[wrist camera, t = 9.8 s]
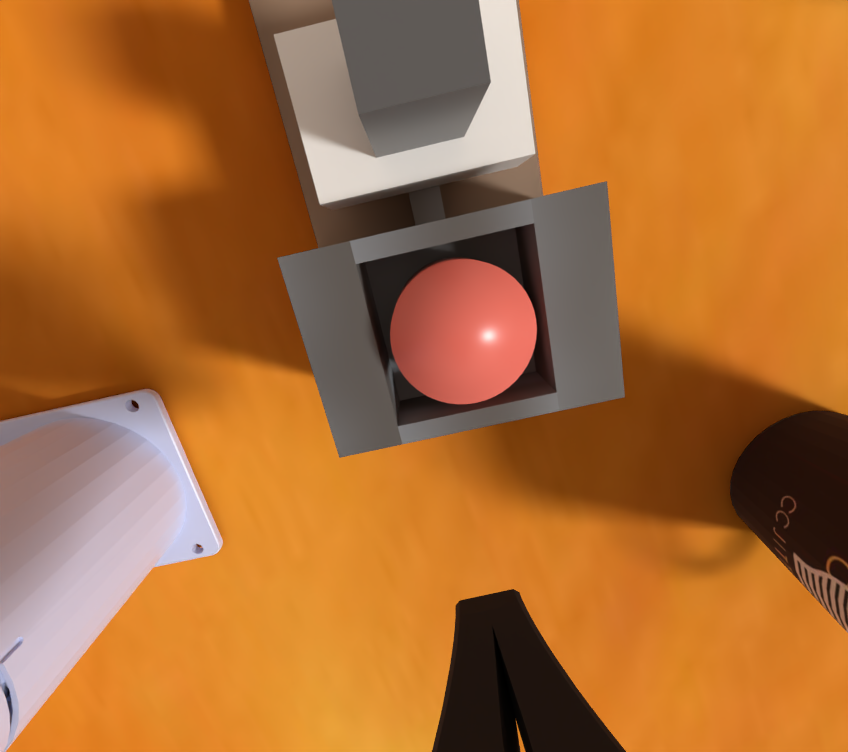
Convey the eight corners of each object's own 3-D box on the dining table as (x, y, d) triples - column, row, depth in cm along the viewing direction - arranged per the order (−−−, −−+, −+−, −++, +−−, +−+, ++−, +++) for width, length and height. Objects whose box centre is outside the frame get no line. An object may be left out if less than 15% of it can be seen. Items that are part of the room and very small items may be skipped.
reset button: (409, 391, 13) (408, 417, 11) (380, 272, 12) (374, 278, 10) (525, 366, 13) (545, 387, 11) (507, 244, 12) (525, 243, 10)
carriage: (332, 210, 14) (275, 185, 8) (294, 66, 12) (194, -85, 7) (518, 166, 13) (597, 109, 8) (496, 16, 12) (572, -185, 6)
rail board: (354, 390, 18) (326, 460, 12) (163, -280, 12) (-73, -778, 6) (554, 346, 17) (624, 396, 12) (461, -364, 11) (510, -975, 6)
